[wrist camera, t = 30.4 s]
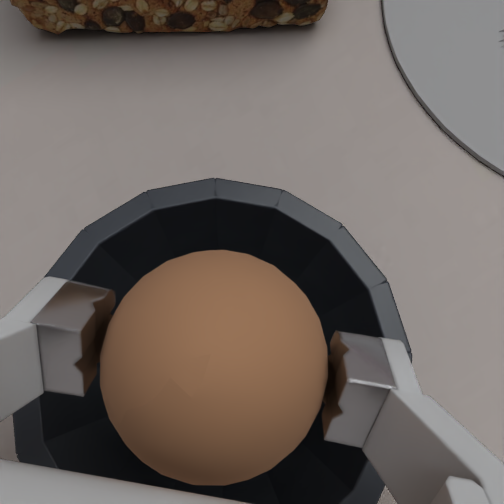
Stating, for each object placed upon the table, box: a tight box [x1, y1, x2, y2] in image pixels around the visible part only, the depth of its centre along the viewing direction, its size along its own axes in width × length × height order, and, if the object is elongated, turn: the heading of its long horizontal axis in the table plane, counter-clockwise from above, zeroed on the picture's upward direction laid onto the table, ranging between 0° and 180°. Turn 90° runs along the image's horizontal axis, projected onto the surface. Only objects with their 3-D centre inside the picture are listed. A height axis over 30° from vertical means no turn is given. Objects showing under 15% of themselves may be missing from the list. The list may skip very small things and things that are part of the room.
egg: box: [100, 250, 328, 485], centre depth 10 cm, size 5×5×8 cm
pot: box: [13, 178, 412, 504], centre depth 16 cm, size 12×12×8 cm
